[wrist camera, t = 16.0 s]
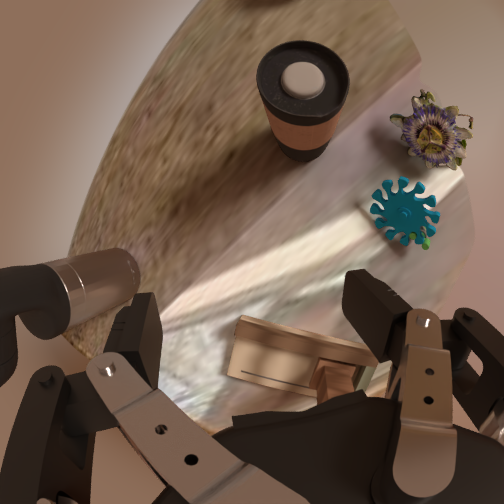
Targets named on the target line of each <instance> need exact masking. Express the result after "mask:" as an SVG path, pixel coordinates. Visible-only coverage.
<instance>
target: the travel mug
mask: <svg viewBox="0 0 504 504" xmlns="http://www.w3.org/2000/svg"><path fill="white" fill-rule="evenodd" d="M256 80H257V86H258V89H259V92H260V95H261V98H262V101H263V104H264V107H265V110H266V113H267V116H268V120H269V123H270V126H271V129H272V131H273V133H274V135H275V137H276V140H277V142H278V144H279V146H280V148H281V149H282V151H283V152H284V153H285V154H286V155H287V156H288V157H290V158H292V159H294V160H297V161H310V160H313V159H315V158H317V157H319V156H320V155H321V154H322V153H323V152H324V150H325V149H326V147H327V145H328V143H329V141H330V139H331V137H332V135H333V134H334V131H335V128H336V126H337V123H338V120H339V117H340V114H341V111H342V108H343V106H344V103H345V100H346V97H347V94H348V91H349V85H350V79H349V73H348V70H347V68H346V65H345V64H344V62H343V61H342V59H341V58H340V57H339V56H338V55H337V54H336V53H335V52H334V51H332V50H331V49H329V48H328V47H326V46H324V45H321V44H319V43H316V42H311V41H304V40H297V41H290V42H285V43H283V44H280V45H278V46H276V47H274V48H273V49H271V50H270V51H269V52H268V53H267V54H266V55H265V56H264V57H263V58H262V60H261V62H260V64H259V66H258V69H257V75H256Z"/></svg>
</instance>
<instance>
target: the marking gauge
mask: <svg viewBox="0 0 504 504" xmlns="http://www.w3.org/2000/svg"><path fill="white" fill-rule="evenodd" d="M355 369H356V365H355V364H352V363H347V362H342V361H337V360H332V359H327V358H323V357H319V358H318V361H317V364H316V366H315V369H314V372H313V374H312V377H311V380H310V382H309V389H313V390H317V405H319V404H321V403H323V402H325V401H327V400H329V399H331V398H333V397H336V396H339V395H343V394H347V393H350V392H354V388H353V384H352V380H351V378H352V376H353V373H354V371H355Z"/></svg>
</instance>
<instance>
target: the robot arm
mask: <svg viewBox="0 0 504 504" xmlns="http://www.w3.org/2000/svg"><path fill="white" fill-rule="evenodd" d="M139 284H140V273H139V269H138V266H137V264H136V262H135V260H134V258H133V257H132V256H131V255H130V254H129V253H128V252H126V251H125V250H123V249H119V248H112V249H107V250H102V251H97V252H92V253H87V254H82V255H77V256H73V257H68V258H64V259H59V260H54V261H50V262H46V263H41V264H37V265H29V266H12V267H7V268H2V269H0V387H1V386H2V385H3V384H5V383H6V382H7V381H8V380H9V378H10V377H11V376H12V375H13V373H14V371H15V369H16V366H17V361H18V349H17V338H16V326H15V316H16V315H19V317H20V319H21V320H22V322H23V324H24V325H25V326H26V328H27V329H28V330H29V331H30V332H31V333H32V334H33V335H34V336H36V337H38V338H40V339H43V340H48V339H52V338H54V337H56V336H58V335H60V334H62V333H64V332H66V331H68V330H70V329H72V328H74V327H76V326H78V325H80V324H82V323H84V322H85V321H87V320H89V319H91V318H93V317H95V316H97V315H99V314H101V313H103V312H105V311H107V310H109V309H111V308H113V307H115V306H117V305H119V304H121V303H123V302H125V301H127V300H129V299H131V298H132V297H133V296H134V298H133V301H132V304H131V306H127V307H123V308H122V309H121V310H120V311H119V312H118V313H117V314H116V317H115V320H114V322H113V323H114V324H113V325H112V328H111V331H110V333H109V336H108V339H107V342H106V345H105V348H104V351H103V353H102V354H99V355H97V356H96V357H94V358H93V359H92V360H91V361H90V362H89V363H88V365H87V368H86V371H84V372H80V373H76V374H72V375H68V376H65V374H64V372H63V371H62V369H61V368H59V367H57V366H46V367H43V368H40V369H39V370H37V371H36V372H35V373H34V374H33V375H32V377H31V379H30V381H29V384H28V387H27V389H26V391H25V394H24V397H23V399H22V402H21V404H20V407H19V410H18V413H17V416H16V419H15V422H14V425H13V428H12V431H11V434H10V438H9V441H8V445H7V448H6V452H5V456H4V459H3V464H2V468H1V472H0V504H90V494H91V476H92V463H93V453H94V444H95V436H96V432H97V431H102V430H106V429H110V428H114V427H118V429H119V430H120V432H121V433H122V434H123V436H124V437H125V438H126V440H127V441H128V442H129V443H130V445H131V446H132V448H133V449H134V450H135V451H136V453H137V454H138V455H139V456H140V458H141V459H142V460H143V461H144V463H145V464H146V465H147V466H148V468H149V469H150V470H151V471H152V472H153V474H154V475H155V476H156V477H157V478H158V479H159V481H160V482H161V483H162V484H163V485H164V486H165V487H166V488H165V489H164V490H163V491H162V492H161V493H160V495H159V496H158V497H157V498H156V499H155V500H154V501H153V503H152V504H504V336H503V335H502V334H501V333H500V332H499V331H498V330H497V329H495V327H493V326H492V325H491V324H490V323H489V322H488V321H487V320H486V319H485V318H484V317H482V316H481V315H480V314H479V313H478V312H476V311H475V310H472V309H469V308H459V309H457V310H456V311H455V313H454V316H453V319H452V320H440V319H439V317H438V316H437V315H436V314H435V313H433V312H431V311H429V310H426V309H413V308H412V307H411V306H410V305H409V304H408V303H407V302H405V301H404V300H403V299H402V298H401V297H400V296H399V295H397V293H396V292H395V291H394V290H392V289H391V288H390V287H389V286H388V285H387V284H386V283H384V282H382V281H380V280H378V279H376V278H374V277H373V276H372V275H371V274H369V273H368V272H367V271H366V270H365V269H359V270H351V271H348V272H347V273H346V275H345V282H344V290H343V298H342V310H343V313H344V315H345V317H346V318H347V320H348V321H349V322H350V324H351V325H352V326H353V328H354V329H355V330H356V332H357V333H358V334H359V336H360V337H361V338H362V340H363V341H364V342H365V344H366V345H367V346H368V348H369V349H370V351H371V352H372V353H373V355H374V356H375V357H376V359H377V360H378V362H379V363H383V362H386V361H389V360H391V361H392V365H391V367H390V372H389V378H388V383H387V388H386V393H385V398H380V397H367V396H366V394H365V392H364V391H363V389H360V390H357V391H354V392H350V393H347V394H343V395H339V396H336V397H333V398H331V399H329V400H327V401H325V402H323V403H321V404H319V405H317V406H315V407H313V408H310V409H308V410H306V411H302V412H273V411H265V412H259V413H253V414H246V415H238V416H232V421H233V426H231V427H228V428H226V429H223V430H221V431H219V432H217V433H216V434H214V435H212V436H210V435H209V434H208V433H206V432H205V431H204V430H203V429H202V428H201V427H199V426H198V425H197V424H196V423H195V422H194V421H193V420H192V419H191V418H189V417H188V416H187V415H186V414H185V413H184V412H183V411H182V410H181V409H180V408H179V407H178V406H177V405H176V404H175V403H174V402H173V401H172V400H170V399H169V398H168V397H167V396H166V395H165V394H164V393H163V392H162V391H161V390H160V389H158V378H159V368H160V358H161V349H162V340H163V332H162V325H161V321H160V316H159V312H158V308H157V303H156V299H155V295H154V293H153V292H149V293H137V291H138V288H139ZM136 293H137V294H136ZM471 350H473V352H474V353H475V354H476V355H477V356H478V357H479V358H480V360H481V361H482V363H483V372H482V374H481V376H479V375H478V374H477V373H476V371H475V370H474V369H473V368H472V367H471V366H470V364H469V363H468V362H467V359H468V356H469V354H470V352H471ZM452 394H453V395H454V397H455V398H456V399H457V401H458V402H459V404H460V405H461V406H462V408H463V409H464V411H465V412H466V413H467V415H468V416H469V418H470V419H471V420H472V422H473V424H474V425H475V426H476V428H477V429H478V431H479V433H477V432H474V431H471V430H469V429H466V428H463V427H460V426H458V425H455V424H453V423H452V418H453V416H452V413H453V400H452V399H453V397H452Z"/></svg>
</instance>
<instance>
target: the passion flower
mask: <svg viewBox="0 0 504 504" xmlns="http://www.w3.org/2000/svg"><path fill="white" fill-rule="evenodd" d="M420 92H421V96H420V97H415V96H413V97H412V106H413V110H414V113H413V115H411V116H409V117H404V116H402V115H401V114H393V115H391V116H390V121H391V122H392V123H394V124H395V125H397V126H398V127H401V130H402V132H403V134H402V136H401V140H404V141H406V142H407V143H408V144H409V146H410V147H409V149H408V154H409V155H411V156H417V155H418V156H419V157H423V160H425V164H426V166H427V167H428V168H429V169H430V168H433V167H434V166H435V165H436V166H437V165H438V166H439V164H440V163H443V164H444V163H445V164H446V165H447V166H449V168H451V169H452V170H457V165H458V166H460V165H461V163H462V158H466V151H465V148H466V141H465V139H467V138H468V139H470V138H472V137H473V134H472V133H471V132H470V131H468V130H467V129H465V128H459V127H457V126H456V125H455V123H456V122H455V119H457V116H460V115H461V116H469V115H463V114H458V113H459V109H458V107H457V106H449V107H446V108H442V107H438V106H436V105H434V104H433V103H431V104H430V103H429V100H428V99H429V98H431V100H432V101H434V102H435V98H434V96H433V95H432V93H430V92H427V94H425V92H424V90H423V89H421V90H420ZM423 97H425V100H424V98H423ZM469 117H470V119H469V122H470V126H469V128H470V129H472V128H473V118H472V117H471V116H469Z"/></svg>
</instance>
